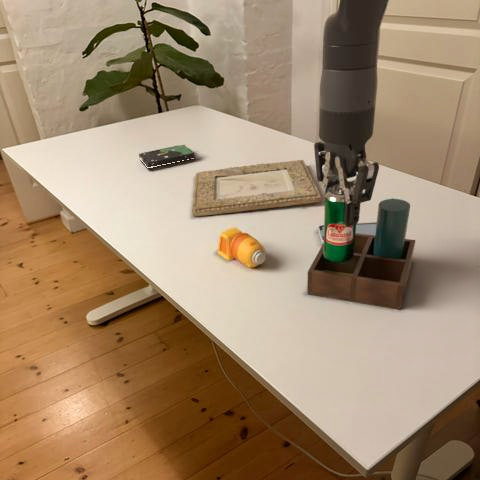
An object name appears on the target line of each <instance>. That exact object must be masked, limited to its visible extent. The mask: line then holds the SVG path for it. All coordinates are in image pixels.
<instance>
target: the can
mask: <svg viewBox="0 0 480 480" xmlns="http://www.w3.org/2000/svg"><path fill="white" fill-rule="evenodd" d="M410 210H411V204H410V203H409V202H408V201H406V200H404V199H400V198H388V199H383V200H381V201H380V202H378V207H377V216H376V222H377V224H376V233H375V242H374V250H373V255H374V256H381V257H389V258H397V259H402V256H403V250H404V243H405V239H406V236H407V229H408V225H409V217H410Z"/></svg>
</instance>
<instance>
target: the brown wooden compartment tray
mask: <svg viewBox="0 0 480 480" xmlns="http://www.w3.org/2000/svg"><path fill="white" fill-rule="evenodd" d="M374 242H375V235H367V234H359V233H356V235H355V247H354V256H353V258H352V259H351V260H350V261H348V262H346V263H342V264H335V263H331V262H329V261H327V260H326V259H325V258H324V256H323V244H322V245H321V247H320V248H319V251H318V252H317V254H316V255H315V257H314V259H313V261H312V263H311V265H310V266H309V268H308V270H307V289H306V291H307V292H306V293H307V295H310V296H316V297H323V298H328V299H334V300H335V299H336V300H340V301H346V302H347V301H348V302H353V303H359V304H364V305H370V306H375V307H381V308H387V309H394V310H401V307H402V304H403V299H404V295H405V291H406V287H407V283H408V279H409V276H410V271H411V266H412V262H413V257H414V251H415V246H416V239H410V238H409V239H408V238H405V243H404V250H403V256H402V259H397V258H389V257H381V256H374V255H373V250H374Z"/></svg>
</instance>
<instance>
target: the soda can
mask: <svg viewBox="0 0 480 480" xmlns="http://www.w3.org/2000/svg"><path fill="white" fill-rule="evenodd" d="M354 188H355V186H352V187H351V193H352V194H353V193H354ZM345 202H346V201H345V195H344V189H343V188H341V187H340V184H337V185H333V186H331V187H329V188H328V192H327V194H326V195H325V194H324V216H323V217H324V219H323V225H324V243H322V245H323V256H324V258H325V259H326V260H327V261H329V262H331V263H335V264H342V263H346V262H348V261H350V260H351V259H352V258H353V256H354V247H355V235H356V224H354V225H351V226H346V225H345V224H344V208H345Z"/></svg>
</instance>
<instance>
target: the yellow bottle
mask: <svg viewBox="0 0 480 480" xmlns="http://www.w3.org/2000/svg"><path fill="white" fill-rule="evenodd" d="M218 239H219V240H218V246H217V254H218V255H219V256H221V257H222V258H224V259H225V260H227V261H233V260H236V261H238V262H240V263H241V264H243V266H246V267H248V268H255V267H257V266H260V265H261V264H263V263H264V262H265V260H266V251H265V248H264V246H263V245H262V244H261V242H260V241H259V240H258V239H256V237H253V236H252V235H251V234H249V233H247V232H242V230H240V229H239V228H237V227H231V228H228V229H226V230H223V231H221V232H220V235H219V238H218Z"/></svg>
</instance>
